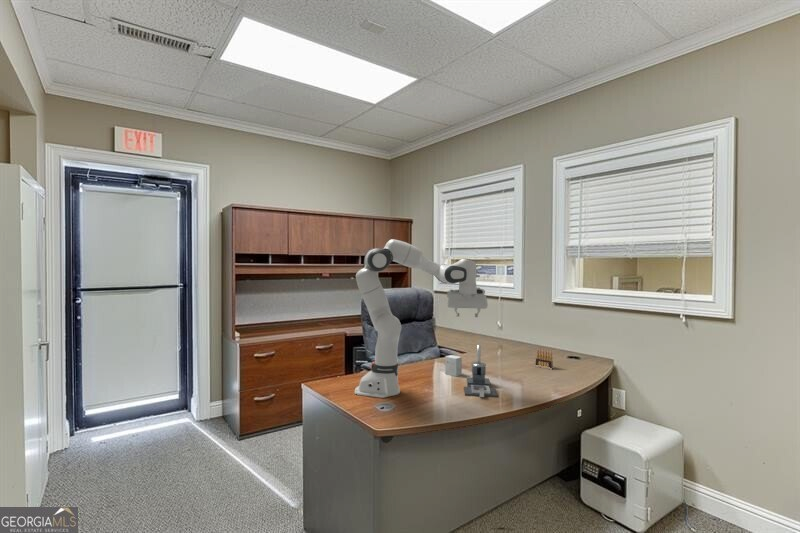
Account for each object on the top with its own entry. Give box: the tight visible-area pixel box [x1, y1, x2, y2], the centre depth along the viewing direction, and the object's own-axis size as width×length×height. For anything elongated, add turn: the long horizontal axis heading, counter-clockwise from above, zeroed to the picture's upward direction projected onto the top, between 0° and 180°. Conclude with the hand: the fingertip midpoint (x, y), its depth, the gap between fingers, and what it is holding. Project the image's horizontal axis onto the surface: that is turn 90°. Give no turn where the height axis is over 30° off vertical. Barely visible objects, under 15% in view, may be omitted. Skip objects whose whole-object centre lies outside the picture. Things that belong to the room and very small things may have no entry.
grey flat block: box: [471, 385, 491, 398], centre depth 200 cm, size 9×14×3 cm, turn 173°
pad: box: [463, 386, 499, 398], centre depth 202 cm, size 16×12×1 cm
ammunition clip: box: [535, 347, 554, 368], centre depth 254 cm, size 11×2×12 cm, turn 44°
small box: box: [444, 354, 463, 378], centre depth 234 cm, size 8×6×10 cm
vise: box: [466, 344, 492, 388], centre depth 216 cm, size 12×10×21 cm
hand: (467, 316), depth 208 cm, fingers open, 8 cm apart
